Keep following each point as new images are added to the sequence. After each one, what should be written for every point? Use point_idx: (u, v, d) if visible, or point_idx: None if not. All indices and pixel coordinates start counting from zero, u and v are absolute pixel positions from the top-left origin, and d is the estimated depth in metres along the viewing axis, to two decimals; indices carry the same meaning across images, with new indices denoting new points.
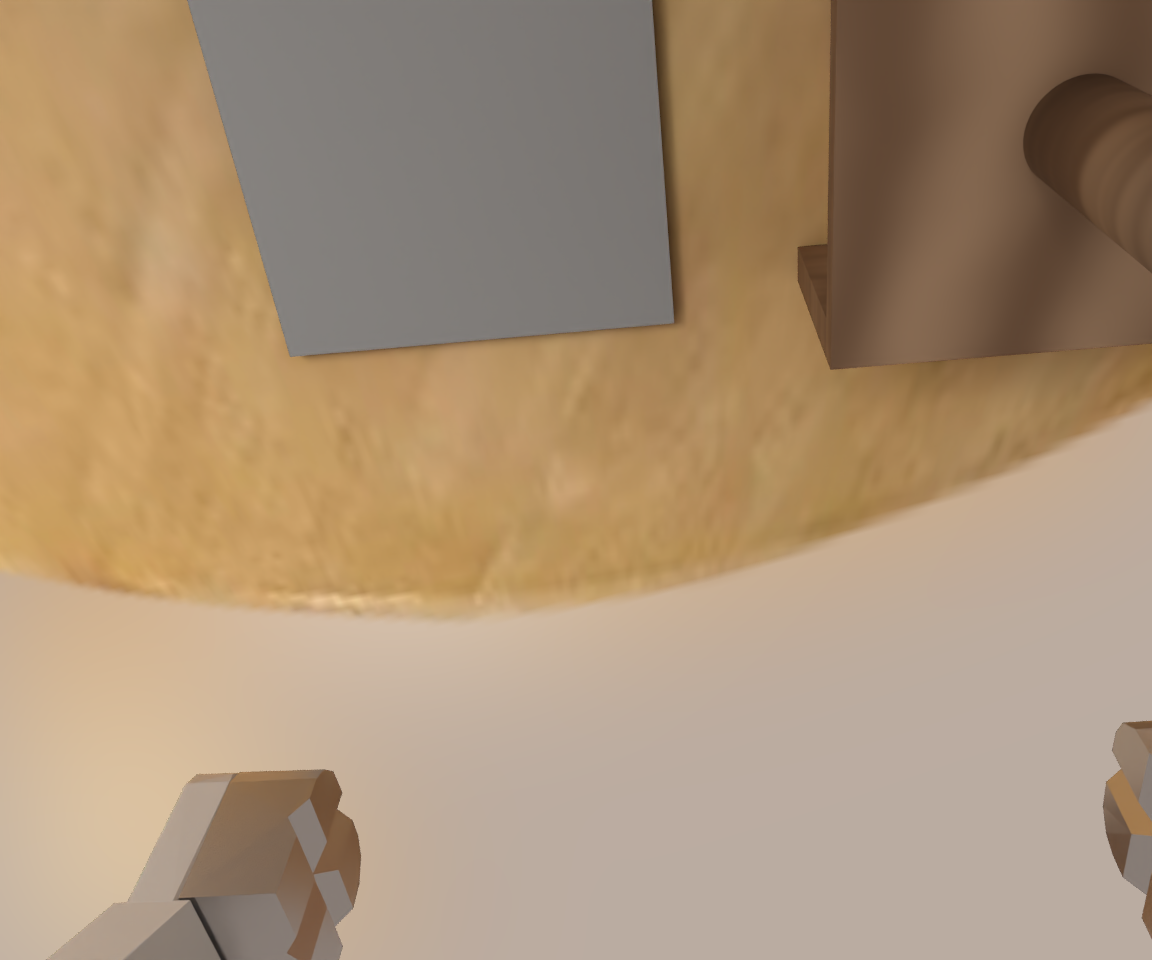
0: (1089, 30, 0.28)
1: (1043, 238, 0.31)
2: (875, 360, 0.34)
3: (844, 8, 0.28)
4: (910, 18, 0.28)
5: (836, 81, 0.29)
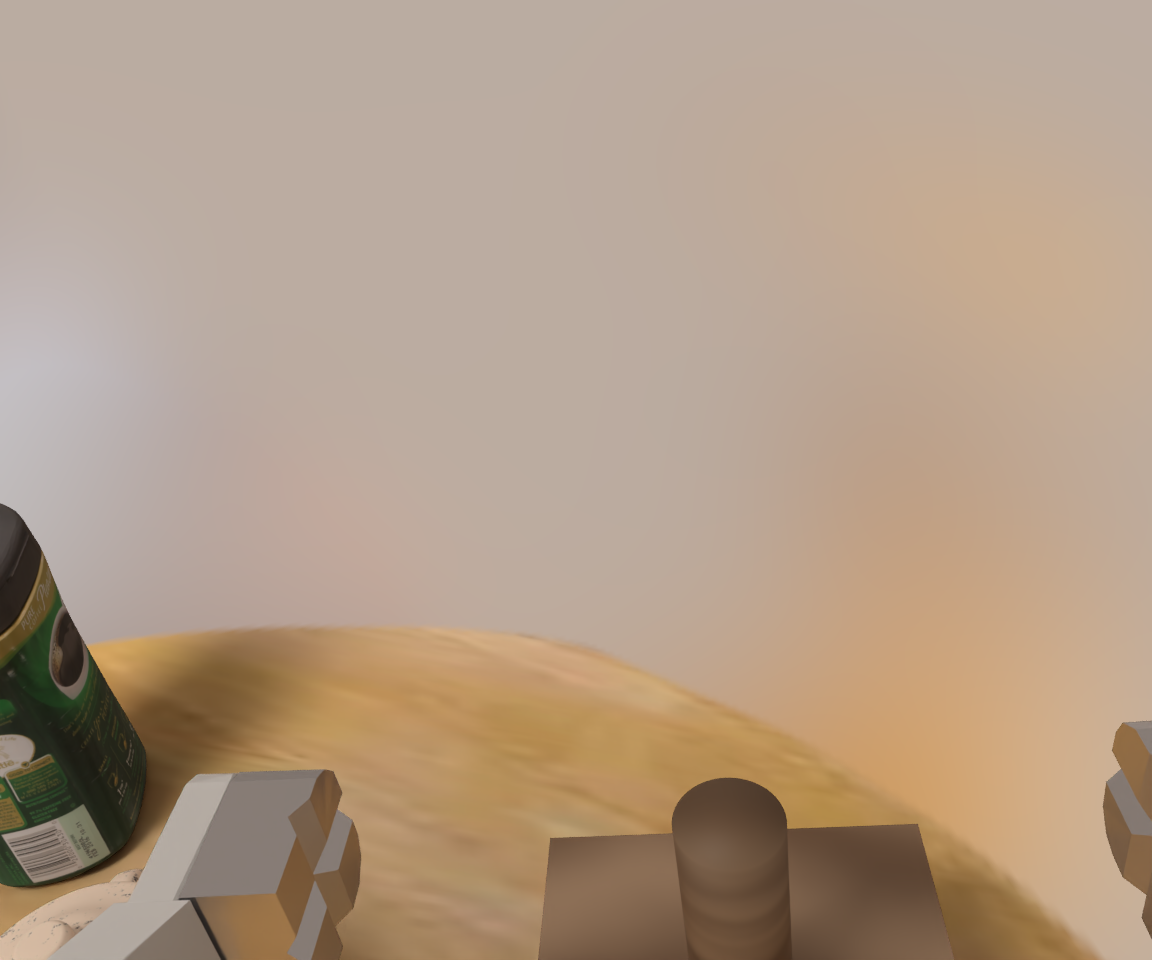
0: None
1: None
2: None
3: None
4: None
5: None
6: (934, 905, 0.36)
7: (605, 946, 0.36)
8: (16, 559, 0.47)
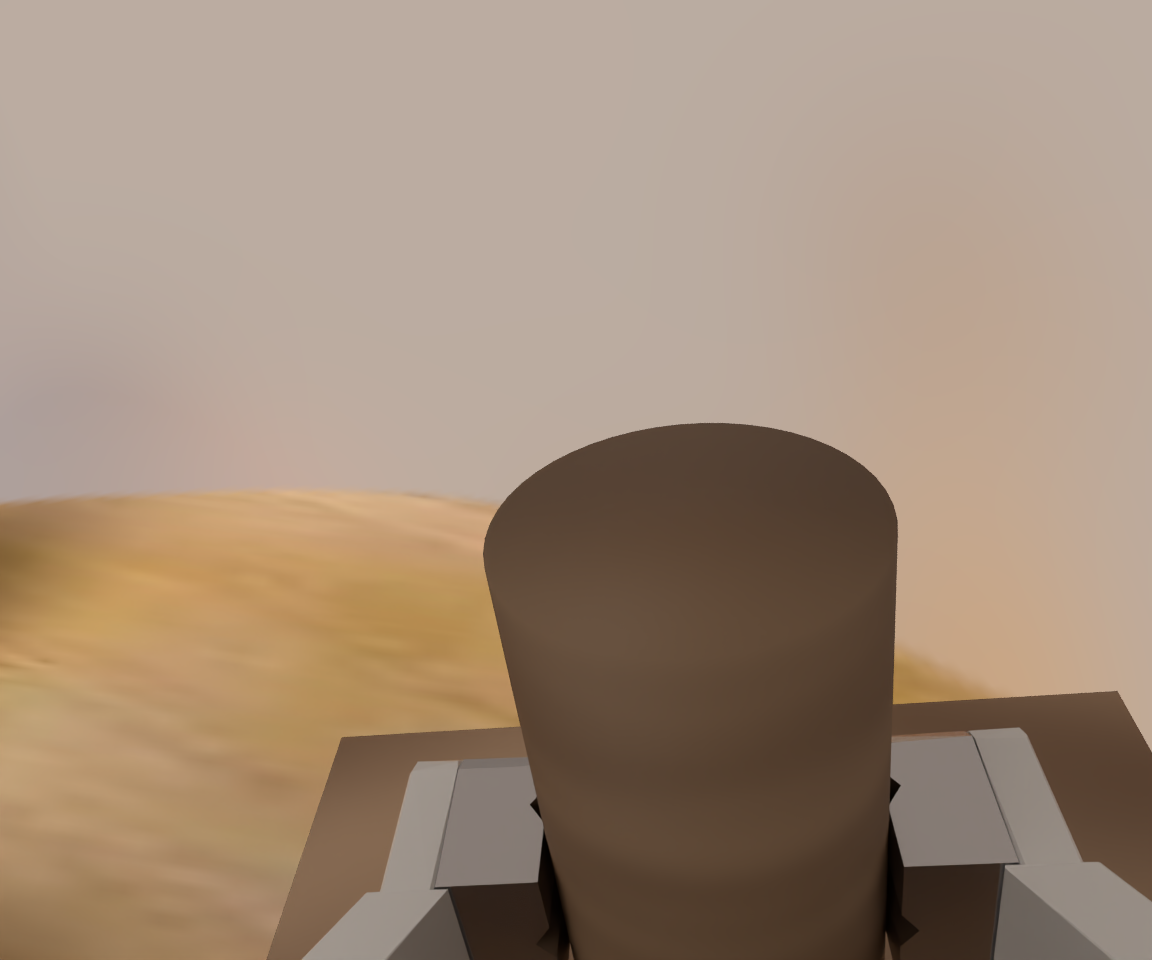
0: None
1: None
2: None
3: None
4: None
5: None
6: None
7: None
8: None
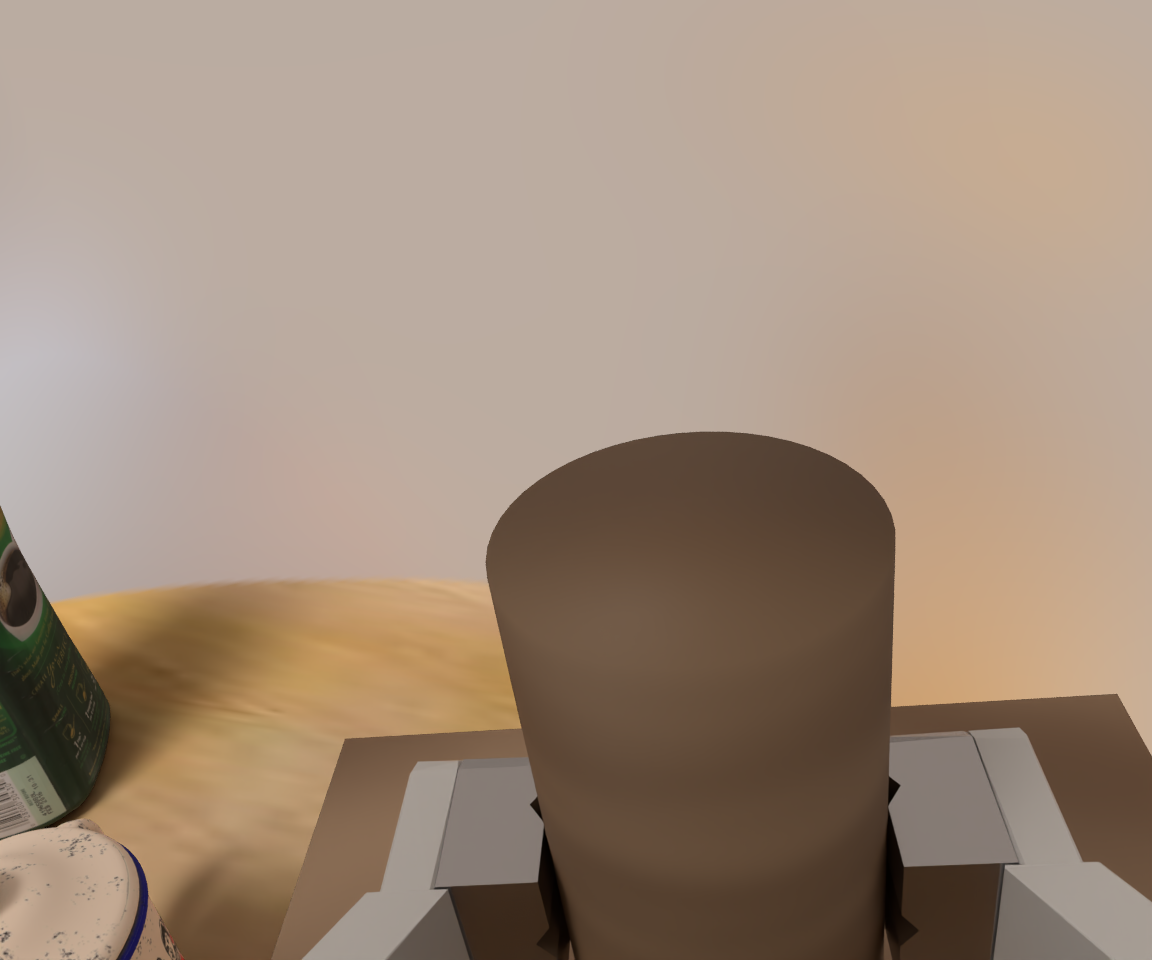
0: None
1: None
2: None
3: None
4: None
5: None
6: None
7: None
8: None
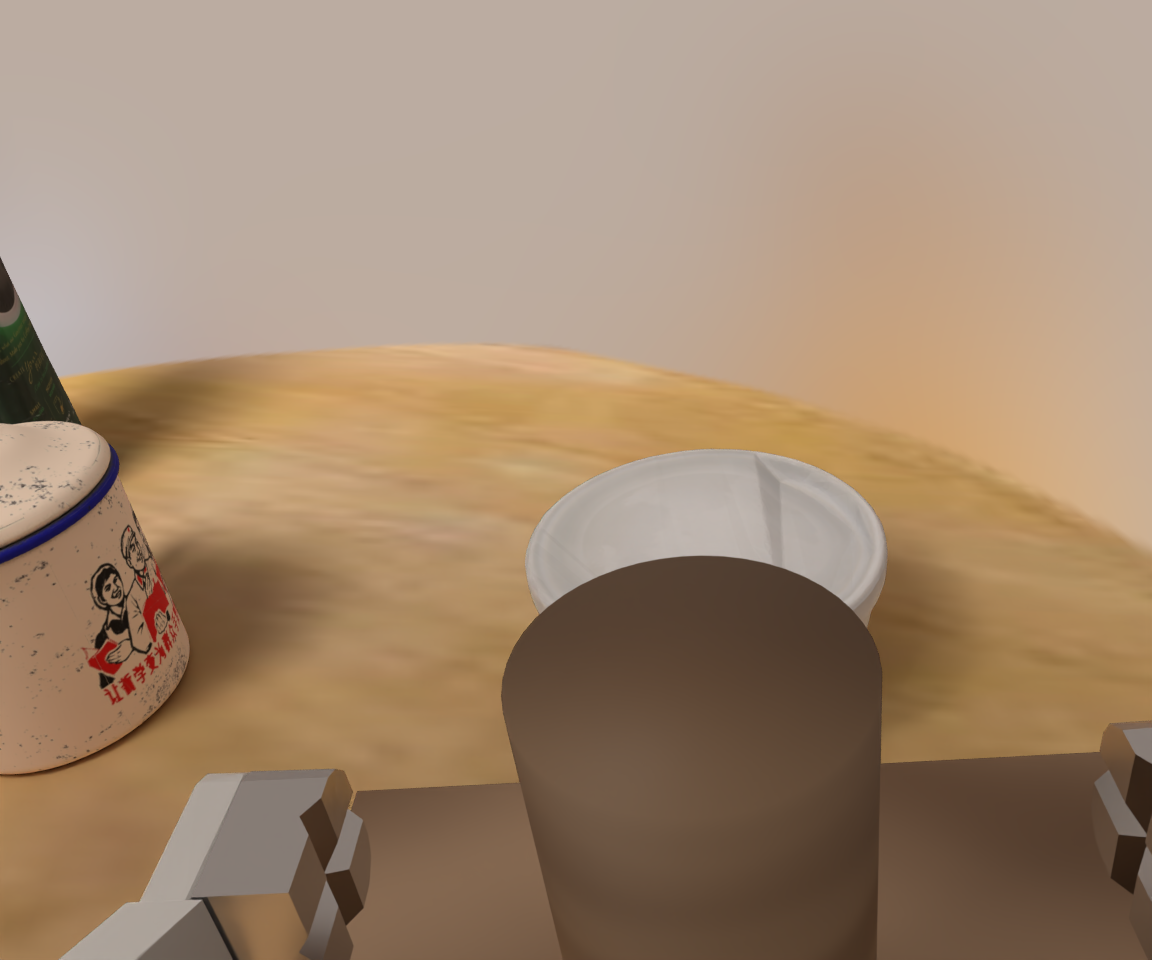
0: None
1: None
2: None
3: None
4: None
5: None
6: None
7: None
8: None
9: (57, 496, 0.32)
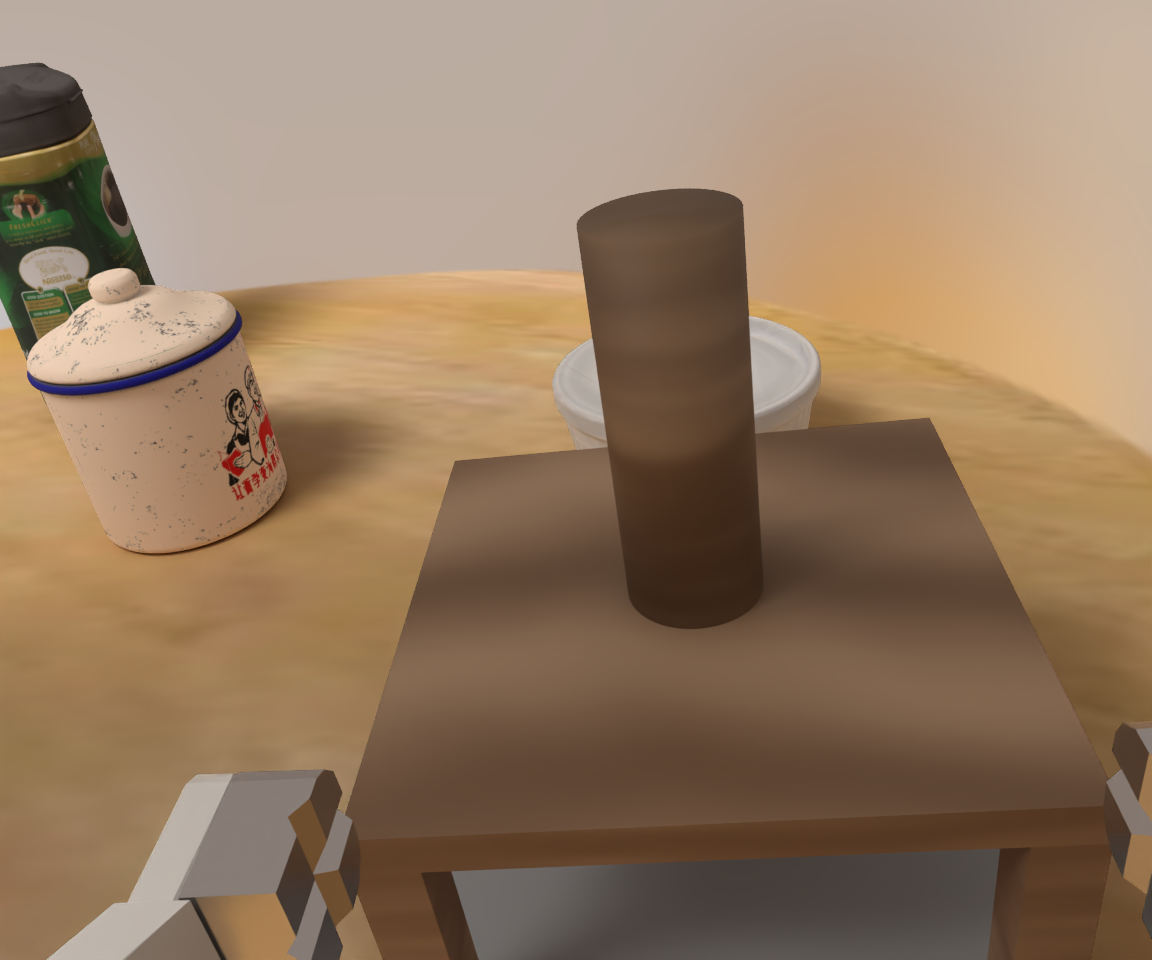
0: (580, 597, 0.25)
1: (833, 592, 0.23)
2: (1078, 742, 0.19)
3: (493, 825, 0.19)
4: (526, 751, 0.21)
5: (593, 828, 0.19)
6: (953, 481, 0.27)
7: (513, 544, 0.27)
8: (74, 95, 0.55)
9: (204, 331, 0.43)
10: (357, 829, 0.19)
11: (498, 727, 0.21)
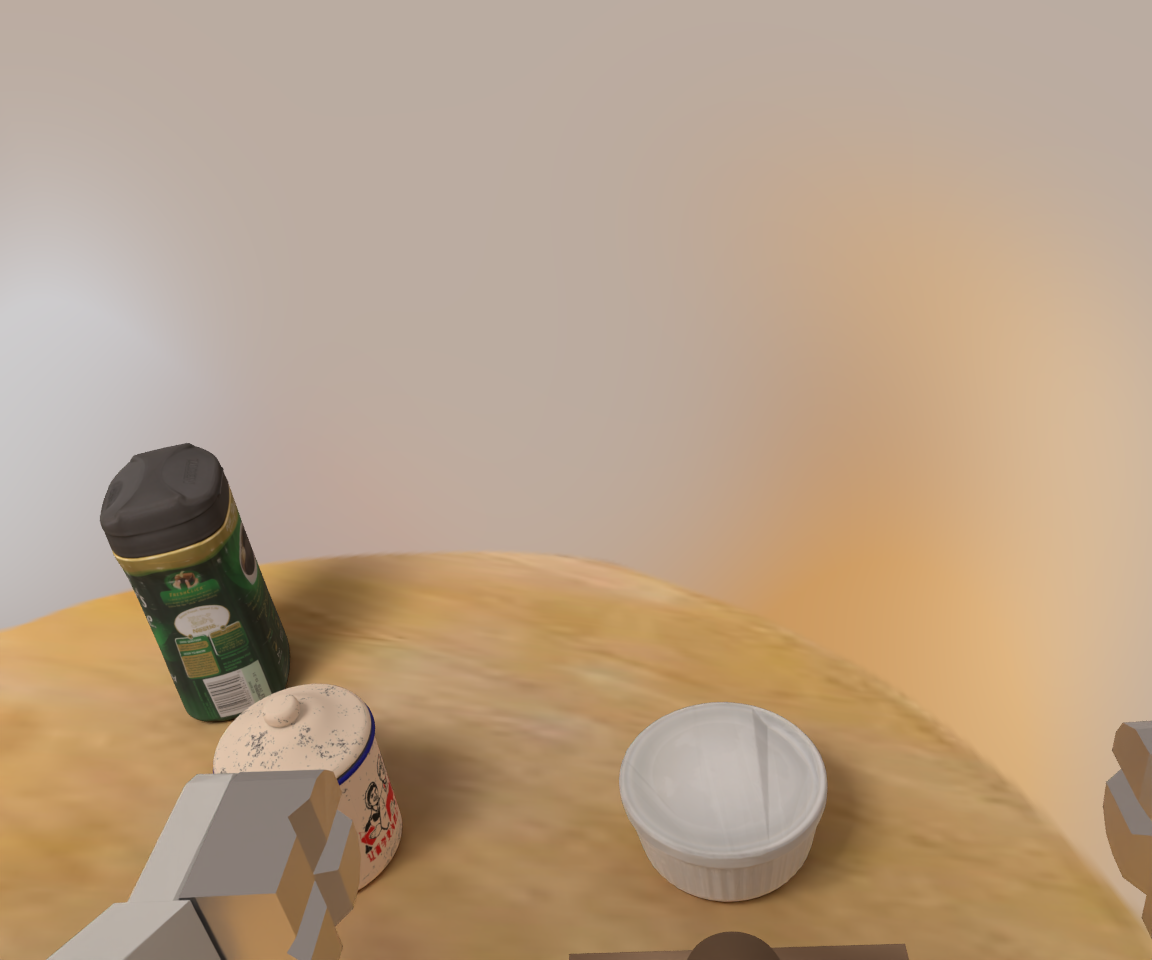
0: None
1: None
2: None
3: None
4: None
5: None
6: None
7: None
8: (220, 483, 0.68)
9: (352, 750, 0.56)
10: None
11: None
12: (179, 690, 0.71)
